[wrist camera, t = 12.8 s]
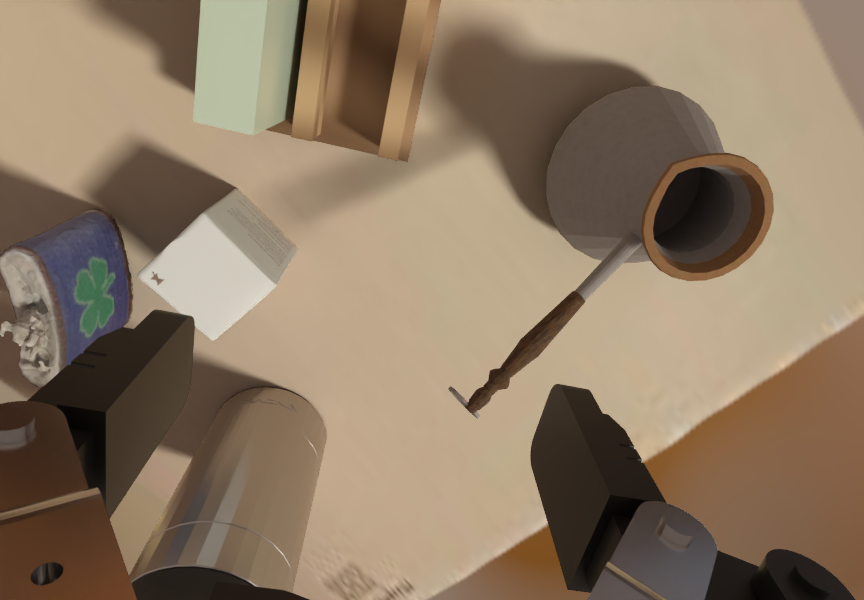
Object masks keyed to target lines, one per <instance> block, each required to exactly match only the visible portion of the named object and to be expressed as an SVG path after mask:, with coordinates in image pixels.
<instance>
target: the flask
mask: <svg viewBox="0 0 864 600" xmlns="http://www.w3.org/2000/svg"><path fill="white" fill-rule="evenodd" d="M100 211H101V212H100ZM120 231H121V230H119V227H118V226H117V224H116V222H115V220H114V219H113V218H112V216H111V215H110V214H108V213H106V212H104V211H102V210H88V211H85V212H83V213H81V214H79V215H78V216H76V217H74V218H72V219H70V220H68V221H66V222H64V223H61V224H59V225H57V226H55V227H53V228H52V229H50V230H48V231H46V232H43V233H41V234H39V235H37V236H35V237H32V238H30V239H28V240H25V241H23V242H19V243H16V244H13V245H12V246H11V247H10V248H8V249H6V250H4V252H3V253H2V254H1V255H0V272H1V274H2V276H3V278H4V281H5V285H6V287H7V289H8V291H9V294H10V297H11V300H12V304H13V308H14V311H15V315H16V320H14V321H13V324H11V323H10V322H9V321H4V322H2V323H1V329H0V335H1V336H3V337H4V334H5V331H10V332H12V333H13V338H12V341H13V342H16V343H18V344H19V346H21V350H20V359H19V367H20V370H21V373H22V375H23V376H24V377H25V378H27V379H28V380H29V382H30V383H32V384H34V385H35V386H37V387H43V386H44V385H46V384H47V383H48V382H49V381H50V380H51V379H52V378H53V377H55V376H56V375H57V374H58V373H59V372H60V371H61V370H62V369H64V368H65V367H66V366H67V365H70V364H71V361H73V360H74V359H75V358H76V357H77V356H78V355H79V354H80V353H82V354H83V352H84V350H85V349H86V348H87V347H88V346H89V345H91V344H92V343H93V342H94V341H95V340H96V339H97V338H98V337H100V336H103V335H105V334H107V333H110V332H112V331H115V330H117V329H120V328H122V327H123V326H124V325H125V324H127V323H128V321H129V320H130V318H131V317H130V315H131V313H132V309H133V308H132V307H133V306H132V300H133V294H132V291H133V288H132V286H133V285H132V284H133V283H132V281H131V273H130V272H129V267H128V264H129V263H128V260H127V255H126V251H125V249H124V243H123V240H122V236H121V232H120Z"/></svg>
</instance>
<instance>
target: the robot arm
mask: <svg viewBox="0 0 864 600" xmlns="http://www.w3.org/2000/svg"><path fill="white" fill-rule="evenodd" d="M194 330H195V322H194V318H193V317H192V316H189V315H183V314H178V313H173V312H167V311H162V310H153V311H152V312H151V313H150V314H149V315H148V316H147V317H146V318H145V319H144V320H143V321H142V322H141V323H140V324H139V325H138V326H137V327H136V328H135V329H130V328H124V327H122V328H120V329H117V330H115V331H112V332H110V333H107V334H105V335H103V336H100V337H98V338H97V339H96V340H95V341H94V342H93V343H92V344H91V345H89V346H88V347H87V348H86V349H85V350H84V352H83V354H82V353H80V354H79V355H78V356H77V357H76V358H75V359H74V360H73V361H71V364H70V365H67V366H66V367H65V368H64V369H62V370H61V371H60V372H59V373H58V374H57V375H56V376H55V377H53V378H52V379H51V380H50V381H49V382H48V383H47V384H46V385H44V386H43V387H42V388H41V389H40V390H39V391H38V392H37V393H35V394H34V395H33V396H32V397H31V398H30V399H29V400H28V401H16V402H8V403H3V404H0V600H309V599H306V598H304V597H301V596H299V595H296V594H293V593H292V592H293V586H294V582H295V577H296V573H297V568H298V564H299V559H300V555H301V551H302V546H303V542H304V537H305V533H306V528H307V524H308V519H309V515H310V510H311V506H312V501H313V497H314V493H315V488H316V484H317V479H318V476H319V471H320V466H321V462H322V457H323V453H324V448H325V443H326V429H325V426H324V423H323V420H322V418H321V417H320V415H319V413H318V412H317V411H316V410H315V408H314V407H313V406H312V405H311V404H310V403H309V402H307V401H306V400H304V399H303V398H301V397H300V396H298V395H296V394H294V393H291V392H289V391H286V390H282V389H278V388H268V387H262V388H253V389H249V390H246V391H242V392H240V393H238V394H236V395H235V396H233V397H231V398H230V399H229V400H228V401H227V402H226V403H224V405H223V406H222V407H221V409H220V410H219V412H218V413H217V415H216V417H215V419H214V421H213V423H212V424H211V426H210V428H209V430H208V432H207V434H206V435H205V437H204V439H203V441H202V442H201V444H200V446H199V448H198V450H197V451H196V453H195V455H194V457H193V459H192V461H191V462H190V464H189V466H188V468H187V470H186V472H185V473H184V475H183V477H182V479H181V481H180V483H179V484H178V486H177V488H176V490H175V492H174V494H173V495H172V497H171V499H170V501H169V503H168V505H167V506H166V508H165V510H164V512H163V514H162V516H161V518H160V519H159V521H158V523H157V525H156V527H155V529H154V531H153V532H152V534H151V536H150V538H149V540H148V542H147V543H146V545H145V547H144V549H143V551H142V553H141V555H140V556H139V558H138V560H137V562H136V564H135V566H134V568H133V569H132V571H131V573H130V575H128V572H127V569H126V566H125V563H124V560H123V557H122V554H121V551H120V548H119V545H118V543H117V539H116V537H115V533H114V531H113V528H112V525H111V522H110V517H111V516H112V514H113V513H114V511H115V510H116V508H117V507H118V505H119V503H120V502H121V501H122V499H123V498H124V496H125V495H126V493H127V491H128V490H129V488H130V487H131V485H132V484H133V482H134V481H135V479H136V478H137V476H138V475H139V473H140V472H141V470H142V469H143V467H144V466H145V464H146V463H147V461H148V460H149V458H150V457H151V455H152V453H153V452H154V450H155V449H156V447H157V446H158V444H159V443H160V441H161V440H162V438H163V437H164V435H165V434H166V432H167V431H168V429H169V428H170V426H171V425H172V423H173V421H174V420H175V418H176V417H177V415H178V414H179V412H180V411H181V409H182V408H183V406H184V404H185V401H186V399H187V396H188V393H189V389H190V384H191V374H192V360H193V345H194ZM641 460H642V459H641V458H640V456H639V454H638V452H637V451H636V450H635V449H634V445H633V444H632V442H631V440H630V438H629V437H628V435H627V433H626V431H625V430H624V429H623V428H622V427H621V426H620V425H619V424H618V423H617V422H615V421H614V420H613V419H612V418H611V417H610V416H609V415H607V414H602V412H601V410H600V408H599V406H598V404H597V402H596V401H595V399H594V397H593V395H592V393H591V392H590V391H589V390H588V389H583V388H577V387H572V386H566V385H561V384H556V385H554V386H553V388H552V389H551V391H550V394H549V396H548V399H547V402H546V405H545V407H544V410H543V413H542V416H541V418H540V421H539V424H538V427H537V429H536V432H535V435H534V438H533V441H532V446H531V466H532V470H533V473H534V477H535V480H536V484H537V487H538V490H539V494H540V497H541V501H542V504H543V507H544V511H545V514H546V518H547V521H548V524H549V528H550V531H551V534H552V538H553V541H554V545H555V548H556V552H557V555H558V558H559V562H560V565H561V569H562V572H563V575H564V579H565V582H566V586H567V589H568V590H576V591H582V592H589V593H591V594H590V596H589V597H588V599H587V600H855V599H854V597H853V596H852V595H851V593H850V592H849V591H848V590H847V588H846V587H845V586H844V585H843V584H842V583H841V582H840V581H839V580H838V579H837V578H836V577H835V576H834V575H833V574H832V573H830V572H829V571H828V570H826V569H825V568H824V567H822V566H821V565H819V564H818V563H816V562H815V561H813V560H811V559H809V558H807V557H805V556H803V555H801V554H798V553H795V552H792V551H789V550H783V549H775V550H771V551H770V552H768V553H767V555H766V556H765V558H764V560H763V561H762V563H761V565H760V566H759V567H758V566H756V565H753V564H750V563H748V562H746V561H743V560H740V559H738V558H735V557H733V556H730V555H728V554H725V553H722V552H720V551H718V550H717V545H716V543H715V540H714V538H713V537H712V535H711V533H710V532H709V531H708V530H707V528H705V527H704V525H703V524H702V523H701V522H699V521H698V520H697V519H696V518H695V517H693V516H692V515H690V514H689V513H687V512H685V511H684V510H682V509H680V508H678V507H676V506H674V505H671V504H668V503H666V501H665V499H664V498H663V496H662V494H661V492H660V491H659V489H658V487H657V486H656V484H655V482H654V480H653V478H652V477H651V475H650V473H649V471H648V470H647V468H646V466H645V465H644V463H641Z"/></svg>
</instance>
